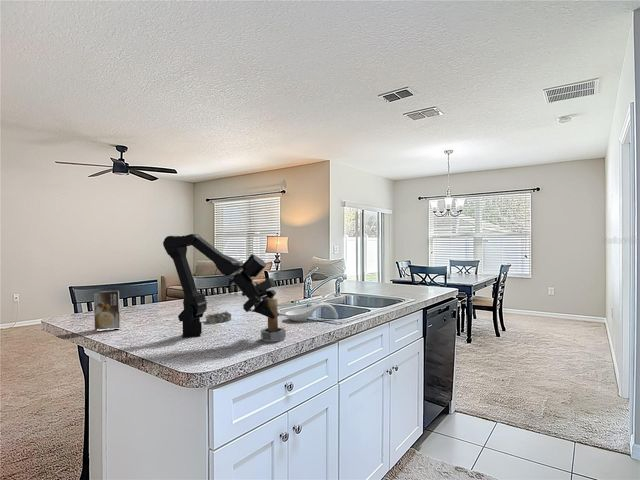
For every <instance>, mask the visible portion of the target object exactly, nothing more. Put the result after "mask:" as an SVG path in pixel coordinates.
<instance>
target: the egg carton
mask: <svg viewBox="0 0 640 480" xmlns="http://www.w3.org/2000/svg"><path fill="white" fill-rule="evenodd" d="M232 316H233V315H232V314H231V313H229V312H228V311H227V310H226V311H223V312H217V313H212V314H211V313H207V314H206V315H205V321H206V322H205V323H208V324H216V323H223V322H230V321H232Z"/></svg>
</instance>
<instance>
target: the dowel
mask: <svg viewBox="0 0 640 480" xmlns="http://www.w3.org/2000/svg"><path fill="white" fill-rule="evenodd" d="M267 303H268V307H269V309H270V310H271V311H272V313H273V314H274V316H275V318H274V319H272V318H269V317H267V328H268V332H278V327H279V324H278V323H279V318H278V317H279V316H278V314H279V310H278V306H279V305H278V304H279V303H278V298H276V297H274V298H272V299H267Z"/></svg>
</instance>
